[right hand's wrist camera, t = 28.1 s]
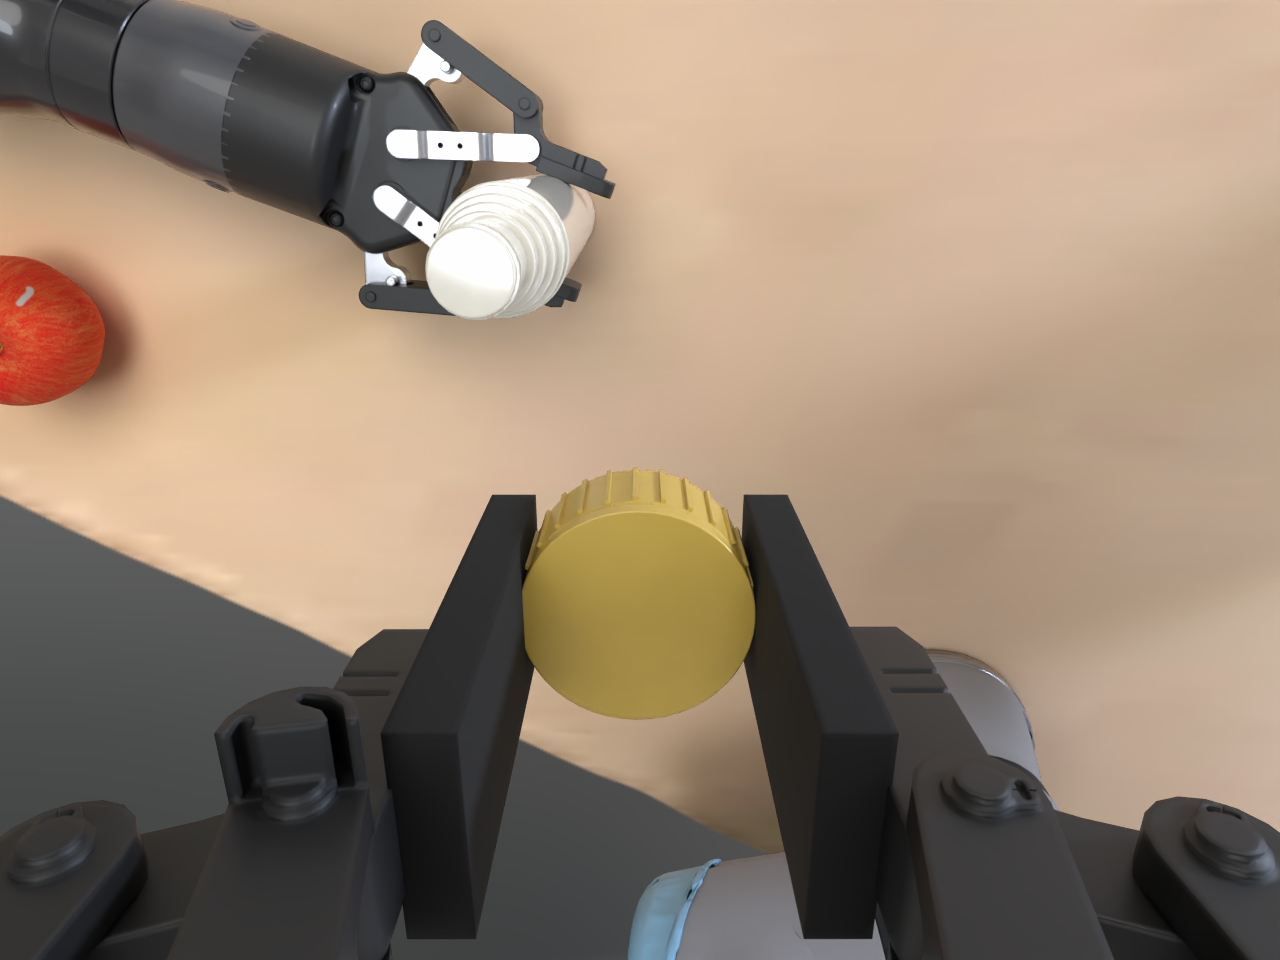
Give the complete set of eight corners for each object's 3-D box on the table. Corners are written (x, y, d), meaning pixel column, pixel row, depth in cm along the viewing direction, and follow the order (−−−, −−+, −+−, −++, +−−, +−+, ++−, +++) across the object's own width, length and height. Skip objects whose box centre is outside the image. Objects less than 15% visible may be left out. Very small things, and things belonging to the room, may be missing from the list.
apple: (44, 218, 46) (-70, 229, 39) (159, 328, 48) (73, 359, 41) (-38, 309, 48) (-162, 337, 40) (77, 411, 50) (-21, 455, 43)
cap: (774, 497, 14) (794, 542, 12) (708, 680, 15) (717, 746, 13) (558, 439, 14) (546, 478, 12) (509, 632, 15) (491, 693, 13)
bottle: (585, 265, 47) (535, 371, 24) (507, 246, 47) (377, 334, 23) (602, 183, 46) (567, 209, 22) (522, 163, 45) (398, 167, 22)
